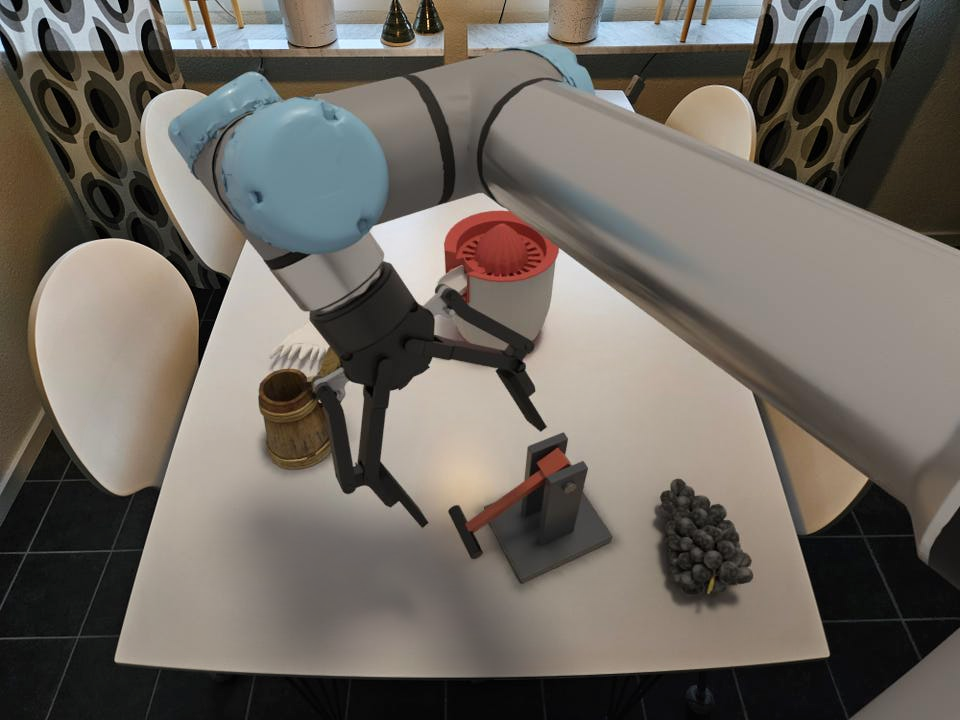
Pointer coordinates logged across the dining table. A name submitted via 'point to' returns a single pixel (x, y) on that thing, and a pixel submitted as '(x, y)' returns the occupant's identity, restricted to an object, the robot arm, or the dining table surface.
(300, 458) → the wooden mug
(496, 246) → the citrus juicer
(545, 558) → the bracket
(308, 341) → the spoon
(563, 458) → the lever
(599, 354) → the dining table surface
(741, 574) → the fruit
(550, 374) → the dining table surface
